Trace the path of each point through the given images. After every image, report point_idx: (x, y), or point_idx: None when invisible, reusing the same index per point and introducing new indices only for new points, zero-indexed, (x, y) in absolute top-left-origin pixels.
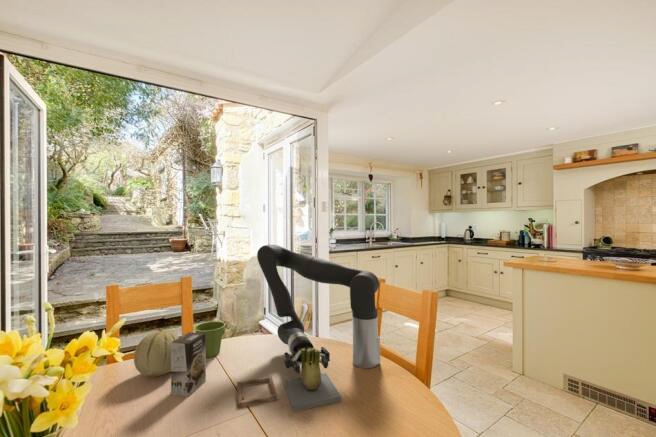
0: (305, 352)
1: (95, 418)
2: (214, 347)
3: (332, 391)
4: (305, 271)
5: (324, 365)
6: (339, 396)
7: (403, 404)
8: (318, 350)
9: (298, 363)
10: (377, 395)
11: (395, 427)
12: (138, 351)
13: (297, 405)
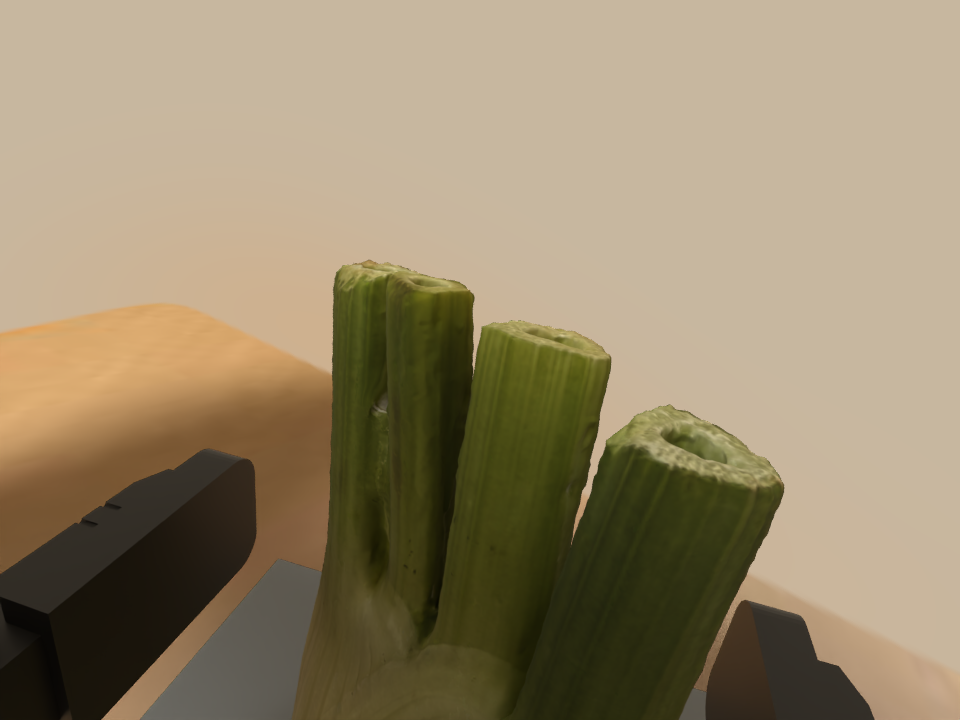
0: (587, 524)
1: None
2: None
3: (266, 651)
4: None
5: (237, 532)
6: (291, 564)
7: (70, 392)
8: (352, 268)
9: (772, 696)
10: (24, 489)
11: (285, 367)
12: None
13: (702, 693)
